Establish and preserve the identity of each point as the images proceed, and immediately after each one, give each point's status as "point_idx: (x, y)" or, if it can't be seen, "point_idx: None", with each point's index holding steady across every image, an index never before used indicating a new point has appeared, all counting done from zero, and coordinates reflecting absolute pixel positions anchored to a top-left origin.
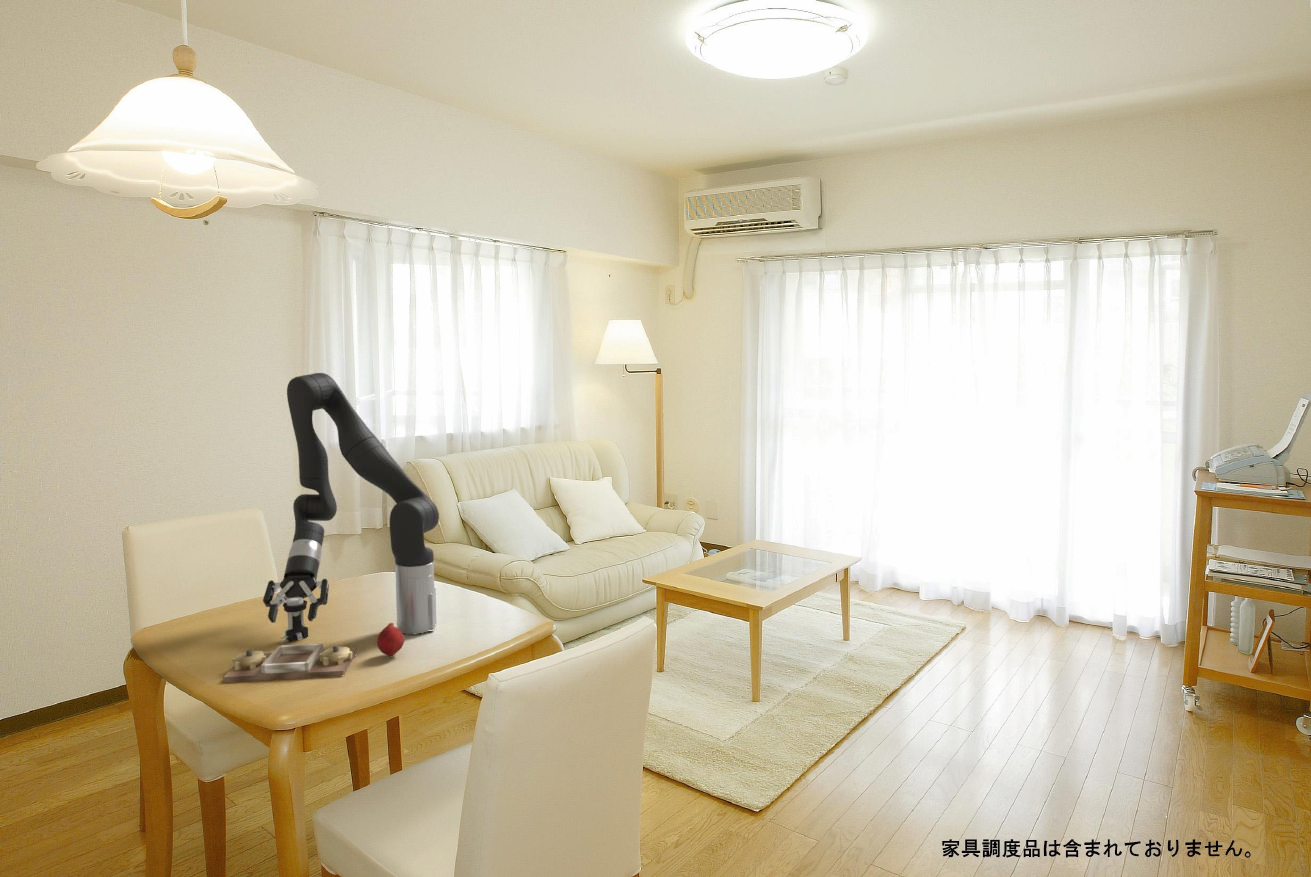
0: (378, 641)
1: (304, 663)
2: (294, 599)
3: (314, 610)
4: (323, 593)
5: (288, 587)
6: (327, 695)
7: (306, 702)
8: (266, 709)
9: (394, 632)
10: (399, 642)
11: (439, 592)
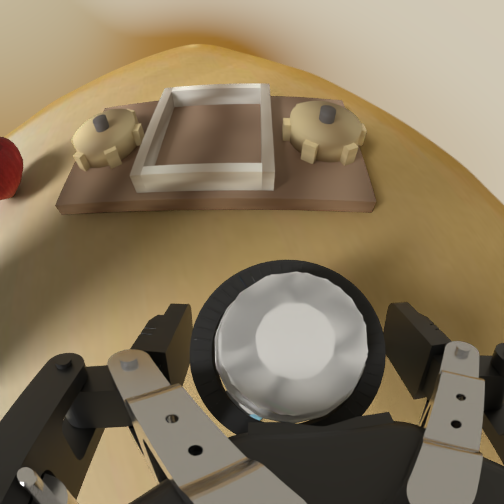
0: (15, 147)
1: (173, 87)
2: (297, 332)
3: (146, 335)
4: (40, 388)
5: (438, 441)
6: (140, 75)
7: (168, 63)
8: (220, 53)
9: None
10: None
11: None
